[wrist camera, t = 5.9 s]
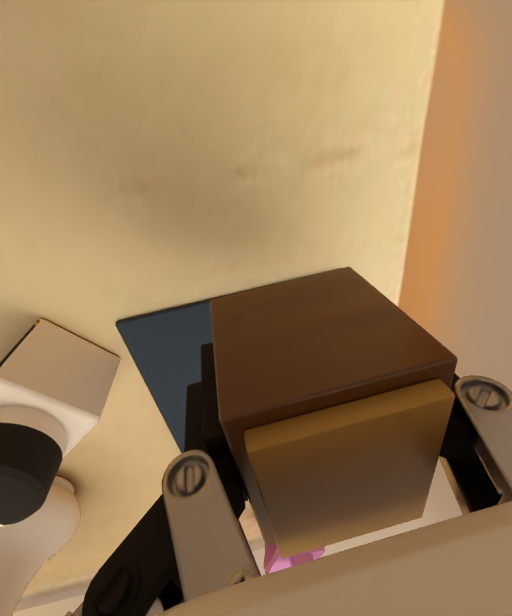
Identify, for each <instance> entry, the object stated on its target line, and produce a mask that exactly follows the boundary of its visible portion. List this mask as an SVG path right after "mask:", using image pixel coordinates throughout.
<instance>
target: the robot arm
mask: <svg viewBox="0 0 512 616" xmlns="http://www.w3.org/2000/svg"><path fill="white" fill-rule="evenodd" d="M450 390H451V391H452V392H453V393H454V394H455V399H454V402H453V406H452V410H451V413H450V417H449V421H448V424H447V428H446V432H445V435H444V439H443V443H442V446H441V450H440V453H439V459H440V462H441V464H442V467H443V469H444V471H445V474H446V476H447V478H448V481H449V483H450V485H451V488H452V490H453V493H454V495H455V497H456V500H457V502H458V505H459V507H460V509H461V512H462V514H463V515H462V516H458V517H455V518H452V519H448V520H445V521H441V522H438V523H435V524H431V525H428V526H425V527H421V528H418V529H415V530H411V531H408V532H405V533H401V534H398V535H395V536H391V537H388V538H384V539H381V540H378V541H374V542H371V543H368V544H365V545H361V546H358V547H354V548H351V549H348V550H344V551H342V552H338V553H335V554H332V555H328V556H325V557H321V558H318V559H315V560H312V561H308V562H305V563H302V564H298V565H295V566H292V567H289V568H285V569H282V570H279V571H275V572H272V573H269V574H266V575H263V576H261V574H260V571H259V569H258V566H257V564H256V561H255V559H254V556H253V554H252V551H251V549H250V546H249V544H248V541H247V539H246V536H245V534H244V531H243V529H242V526H241V524H240V521H239V517H240V516H241V514H242V512H243V511H244V509H245V501H248V497H247V494H246V491H245V488H244V486H243V483H242V480H241V478H240V475H239V472H238V470H237V467H236V464H235V462H234V459H233V456H232V454H231V451H230V448H229V446H228V443H227V440H226V438H225V435H224V432H223V430H222V427H221V424H220V422H219V412H218V399H217V387H216V374H215V361H214V348H213V342H211V343H206V344H202V345H201V381H200V382H196V383H192V384H188V386H187V394H186V418H185V442H184V453H182V454H180V455H179V456H177V457H176V458H175V459H174V460H173V461H172V462H171V463H170V464H169V465H168V467H167V469H166V471H165V472H164V475H163V479H162V493H163V494H162V495H161V496H160V497H159V498H158V500H157V501H156V502H155V503H154V504H153V506H152V507H151V508H150V509H149V510H148V512H147V513H146V514H145V515H144V517H143V518H142V519H141V520H140V521H139V523H138V524H137V525H136V526H135V527H134V529H133V530H132V531H131V532H130V533H129V535H128V536H127V537H126V538H125V539H124V541H123V542H122V543H121V544H120V545H119V547H118V548H117V549H116V550H115V551H114V553H113V554H112V555H111V556H110V557H109V559H108V560H107V561H106V562H105V563H104V565H103V566H102V567H101V568H100V569H99V571H98V572H97V574H96V575H95V577H94V578H93V580H92V581H91V583H90V585H89V587H88V590H87V592H86V594H85V598H84V602H83V603H82V604H81V605H80V606H79V607H78V608H77V609H76V610H75V612H74V613H71V612H68V613H67V614H66V615H65V616H512V392H511V391H510V390H509V389H508V388H507V387H506V386H504V385H502V384H501V383H499V382H497V381H495V380H493V379H490V378H486V377H482V376H465V377H463V378H459V377H458V376H457V375H456V374H455V373H454V376H453V380H452V384H451V388H450Z"/></svg>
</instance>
